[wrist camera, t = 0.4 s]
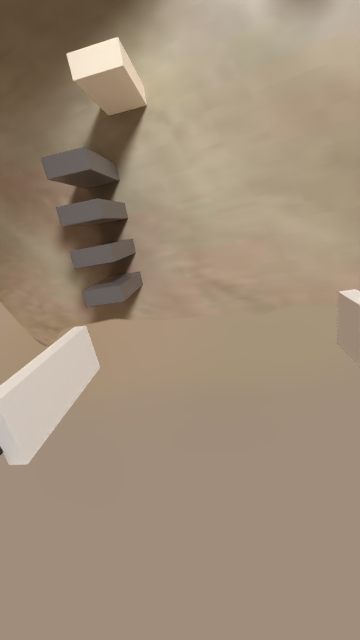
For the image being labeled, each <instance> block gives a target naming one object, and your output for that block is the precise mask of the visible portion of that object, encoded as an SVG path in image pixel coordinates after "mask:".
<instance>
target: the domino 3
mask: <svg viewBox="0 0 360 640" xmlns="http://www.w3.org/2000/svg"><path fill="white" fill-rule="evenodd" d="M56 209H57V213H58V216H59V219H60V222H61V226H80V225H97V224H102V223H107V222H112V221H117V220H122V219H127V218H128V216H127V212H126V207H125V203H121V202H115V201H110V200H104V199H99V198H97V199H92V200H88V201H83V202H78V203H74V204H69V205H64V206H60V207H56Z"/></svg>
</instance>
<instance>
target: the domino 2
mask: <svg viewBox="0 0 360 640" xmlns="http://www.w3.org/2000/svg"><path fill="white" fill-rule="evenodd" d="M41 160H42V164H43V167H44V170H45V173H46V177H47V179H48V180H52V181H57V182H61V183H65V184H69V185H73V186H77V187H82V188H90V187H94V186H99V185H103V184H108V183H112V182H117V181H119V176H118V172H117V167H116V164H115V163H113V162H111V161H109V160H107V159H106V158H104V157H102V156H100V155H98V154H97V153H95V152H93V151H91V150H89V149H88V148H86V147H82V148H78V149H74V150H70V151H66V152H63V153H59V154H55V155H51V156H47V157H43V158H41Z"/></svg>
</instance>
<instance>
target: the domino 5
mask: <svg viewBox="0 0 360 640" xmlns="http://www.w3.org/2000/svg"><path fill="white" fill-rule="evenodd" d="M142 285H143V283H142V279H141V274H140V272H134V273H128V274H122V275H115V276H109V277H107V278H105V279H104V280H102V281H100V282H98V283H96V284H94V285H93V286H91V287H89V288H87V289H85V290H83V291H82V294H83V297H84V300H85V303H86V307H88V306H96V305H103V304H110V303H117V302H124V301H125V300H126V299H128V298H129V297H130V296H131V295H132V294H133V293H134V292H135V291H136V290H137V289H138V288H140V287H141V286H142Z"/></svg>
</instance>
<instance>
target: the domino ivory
mask: <svg viewBox="0 0 360 640" xmlns="http://www.w3.org/2000/svg"><path fill="white" fill-rule="evenodd" d="M67 58H68V62H69V66H70V70H71V74H72V78H73V81H74V82H75V83H76V84H77V85H78V86H79V87H80V88H81V89H82V90H83V91H84V92H85V93H86V94H87V95H88V96H89V97H90V98H91V99H92V100H93V101H94V102H95V103H96V104H97V105H98V106H99V107H100V108H101V109H102V110H103V111H104V112H105V113H107V114H108V115H109V116H110V115H114V114H117V113H121V112H125V111H128V110H132V109H136V108H139V107H143V106H147V103H146V97H145V92H144V86H143V84H142V82H141V80H140V78H139V76H138V74H137V72H136V70H135V69H134V67H133V65H132V63H131V61H130V59H129V57H128V55H127V53H126V51H125V50H124V48H123V46H122V44H121V42H120V40H119V38H118V37H116V38H113V39H110V40H107V41H104V42H100V43H97V44H94V45H91V46H88V47H85V48H82V49H79V50H76V51H73V52H70V53H67Z"/></svg>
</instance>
